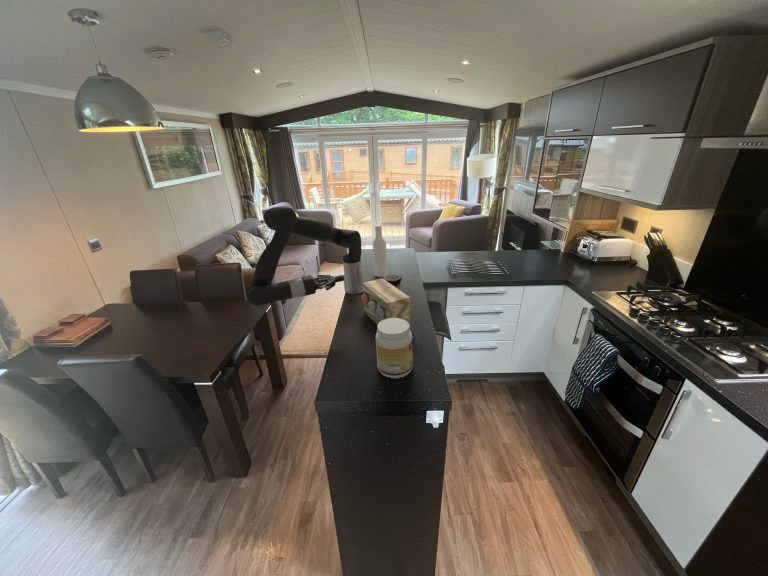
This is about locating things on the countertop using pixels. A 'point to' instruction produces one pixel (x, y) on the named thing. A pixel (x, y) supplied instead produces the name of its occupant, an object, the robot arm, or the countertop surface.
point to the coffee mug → (393, 280)
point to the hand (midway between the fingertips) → (343, 277)
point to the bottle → (379, 253)
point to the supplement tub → (394, 348)
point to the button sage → (372, 305)
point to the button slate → (380, 313)
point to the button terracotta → (365, 299)
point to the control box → (386, 300)
